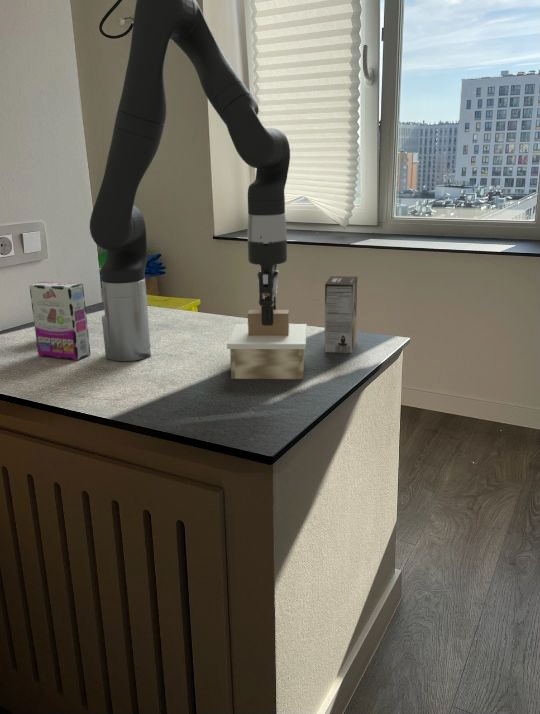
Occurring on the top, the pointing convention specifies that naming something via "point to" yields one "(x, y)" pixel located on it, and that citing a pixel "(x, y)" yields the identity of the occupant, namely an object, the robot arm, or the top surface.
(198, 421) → the top surface
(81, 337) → the candy bar box
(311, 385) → the top surface
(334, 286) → the coffee box
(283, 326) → the lid
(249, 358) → the birch box
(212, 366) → the top surface
